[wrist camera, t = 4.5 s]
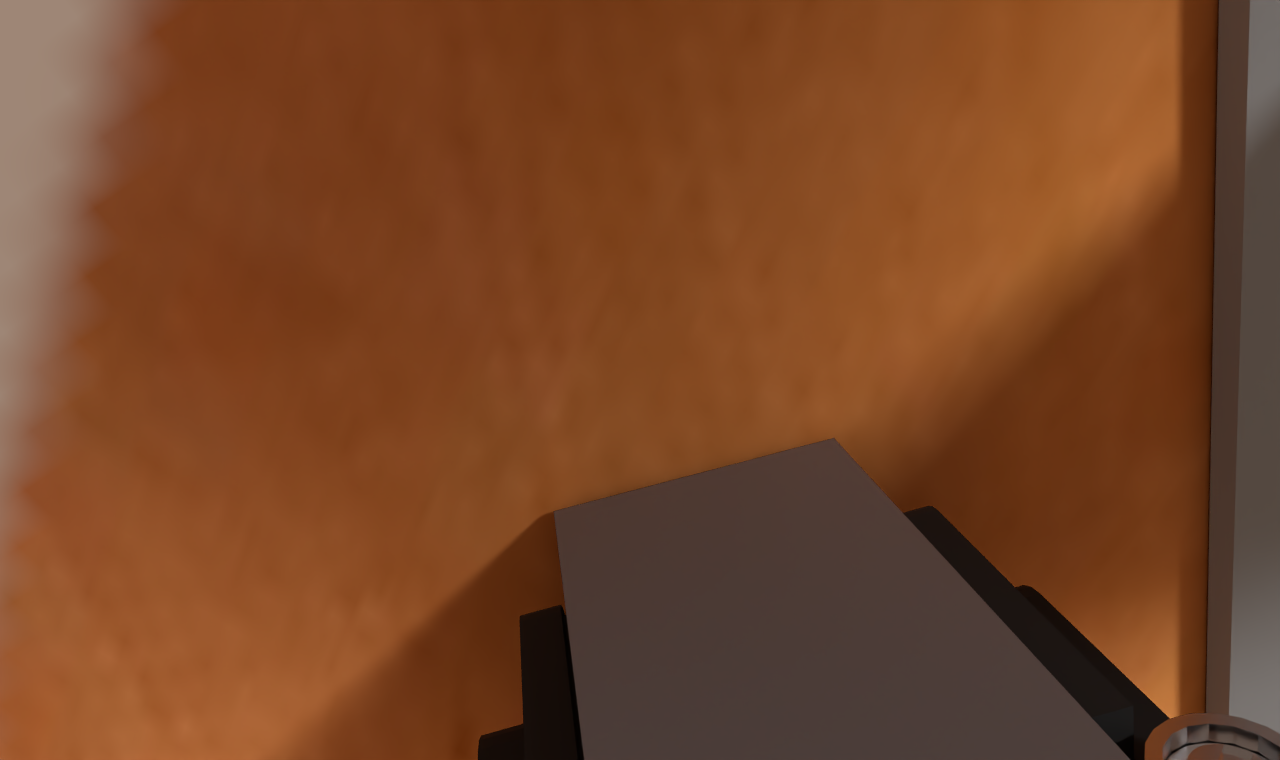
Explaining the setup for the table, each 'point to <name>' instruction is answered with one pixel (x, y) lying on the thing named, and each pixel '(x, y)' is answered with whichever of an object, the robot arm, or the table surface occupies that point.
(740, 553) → the block
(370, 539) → the table surface
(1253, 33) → the mat
